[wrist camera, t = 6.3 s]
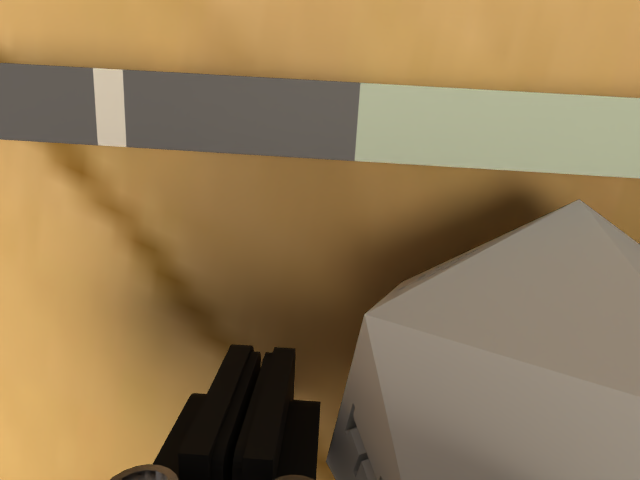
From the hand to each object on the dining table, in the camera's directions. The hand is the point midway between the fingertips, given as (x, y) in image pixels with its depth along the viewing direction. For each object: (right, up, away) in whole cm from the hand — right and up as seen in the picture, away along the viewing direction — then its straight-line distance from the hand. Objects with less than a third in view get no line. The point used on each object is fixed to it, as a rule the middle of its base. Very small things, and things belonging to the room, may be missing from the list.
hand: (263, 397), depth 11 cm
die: (+6, +1, +2) cm, 6 cm away
